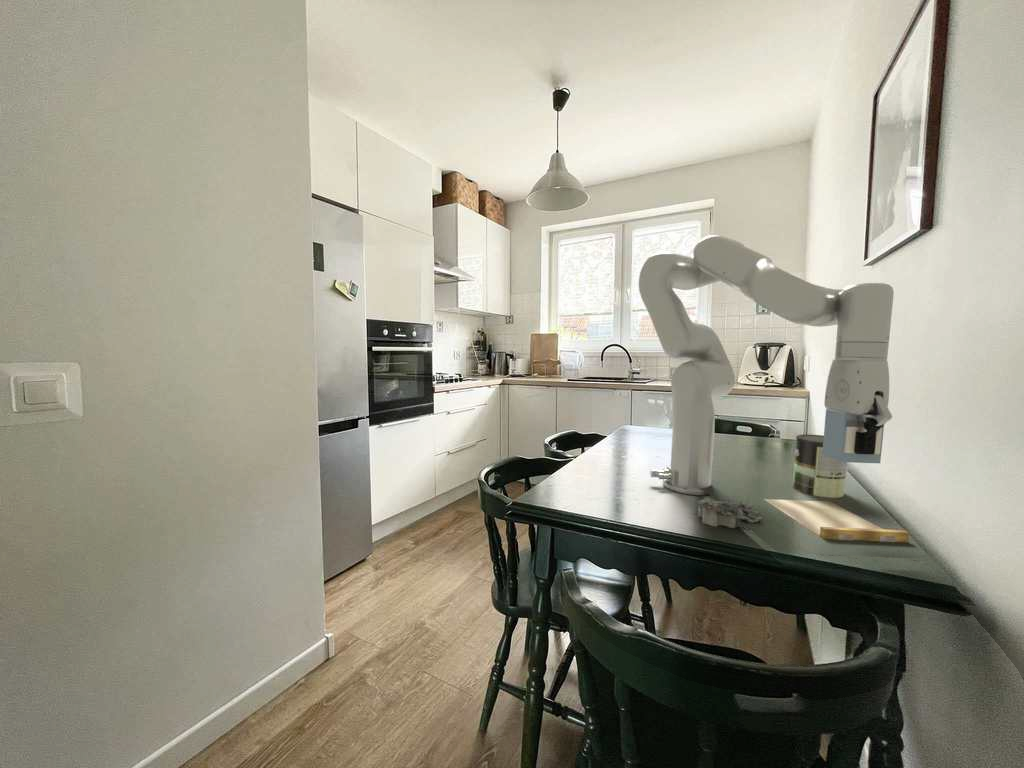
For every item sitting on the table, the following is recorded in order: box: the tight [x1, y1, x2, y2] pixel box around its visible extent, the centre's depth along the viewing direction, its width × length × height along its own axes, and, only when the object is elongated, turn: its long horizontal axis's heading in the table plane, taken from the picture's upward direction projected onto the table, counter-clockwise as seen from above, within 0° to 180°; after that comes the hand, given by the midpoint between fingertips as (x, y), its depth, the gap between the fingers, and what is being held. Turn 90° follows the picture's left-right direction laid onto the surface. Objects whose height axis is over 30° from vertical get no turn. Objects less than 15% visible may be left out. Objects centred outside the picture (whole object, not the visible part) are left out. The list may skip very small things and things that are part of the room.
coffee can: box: [792, 433, 848, 499], centre depth 103 cm, size 10×10×14 cm
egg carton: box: [697, 498, 763, 531], centre depth 87 cm, size 11×8×4 cm
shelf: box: [763, 498, 910, 543], centre depth 86 cm, size 14×20×3 cm
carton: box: [822, 408, 885, 464], centre depth 80 cm, size 5×7×9 cm
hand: (851, 448), depth 81 cm, fingers closed on carton, 5 cm apart
